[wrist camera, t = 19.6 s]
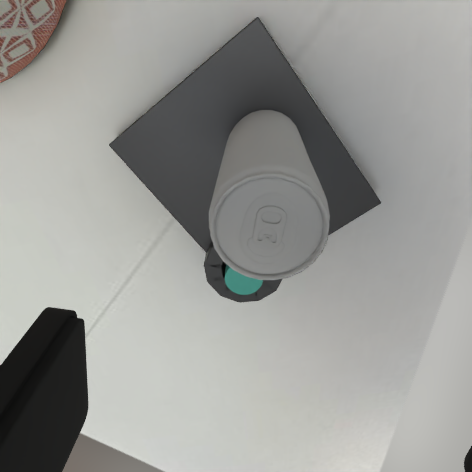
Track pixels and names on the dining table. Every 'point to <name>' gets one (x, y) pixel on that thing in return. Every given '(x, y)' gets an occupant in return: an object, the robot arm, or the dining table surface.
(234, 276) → the button
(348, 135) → the dining table surface
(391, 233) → the dining table surface
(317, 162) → the dark grey flat block
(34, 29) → the planter
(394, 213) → the dining table surface
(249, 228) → the beverage can
